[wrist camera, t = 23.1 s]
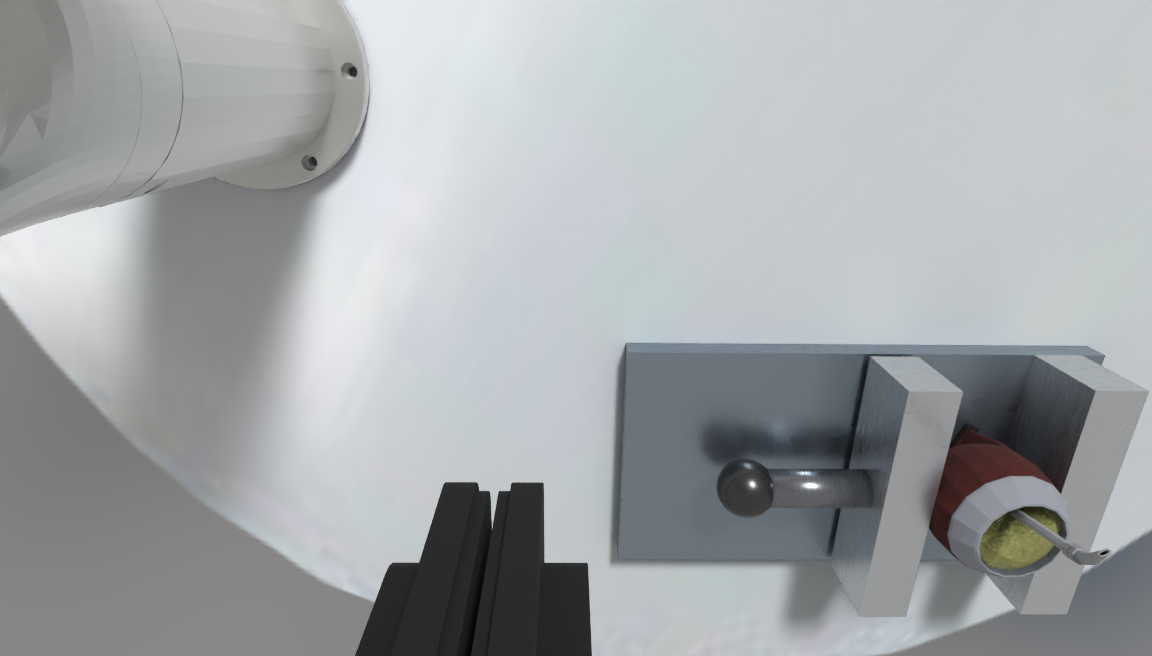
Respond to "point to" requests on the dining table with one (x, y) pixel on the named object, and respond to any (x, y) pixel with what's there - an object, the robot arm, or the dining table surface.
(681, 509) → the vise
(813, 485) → the vise jaw
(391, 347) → the dining table surface
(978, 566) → the mate gourd
